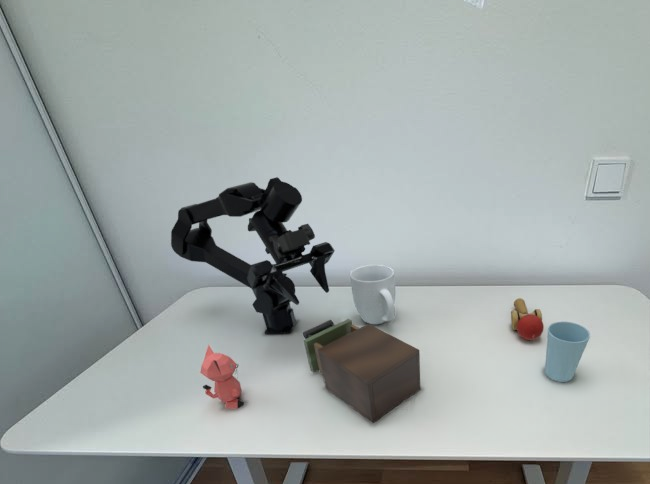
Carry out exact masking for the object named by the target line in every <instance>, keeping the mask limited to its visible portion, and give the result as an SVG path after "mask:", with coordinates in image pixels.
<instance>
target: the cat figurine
mask: <svg viewBox="0 0 650 484" xmlns="http://www.w3.org/2000/svg"><path fill="white" fill-rule="evenodd" d="M238 367H239V363H237V362H235V360H234V359H233V358H232V357H230V356H228V355H227V354H224V353H221V352H216V353H215V352H214V351H213V350H212V348H211V346H210V344H207V348H206V351H205V355H204V358H203V361H202V364H201V367H200V372H199V373H200V374H202V376H204V377H205V378H207V379H209V380H210V381H211V382H214V392H212V391H211V390H212V389H213V387H212V386H210V385H208V384H205V385H203V386H202V388H203V389H204V393H205V395H207V396H208V397H210V398H212V399H218V400H220V401H221V402H222V403H224V404H225V406H224V409H228V410H234V409H235V410H236V409H240V408H241V407H242V406H244V401H242V400H240V399H238V398H239V397H241V395H242V386H241V381H239V380H238V378H236V377H235V375H236V374H239V373H238V372H239V371H238Z"/></svg>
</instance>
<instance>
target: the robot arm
mask: <svg viewBox="0 0 650 484" xmlns="http://www.w3.org/2000/svg"><path fill="white" fill-rule="evenodd" d="M302 201H303V196H302V194H301V192H300V191H299V189H298V188H297V187H294V185H292V184H290V183H288V182H286V181H282V180H281V179H280V178H279V176H276V177H272V178H270V179H269V181H268V182H267V186H266V188H261V187H259V186H258V185H257V184H256V183H255V182H253V181H251V182H246V183H243V184H238V185H234V186H230V187H227V188H226V189H224V190H223V191H221V192H220V193H218V196H217V197H216V198H213V199H209V200H206V201H203V202H200V203H193V204H189V205H186V206H183V207H181V208H180V209H178V213H177V220H176V221H175V223H174V225H173V227H172V228H171V231H170V232H171V233H170V246H171V249H172V251H173V252H174V253H175V254H176V255H178V256H179V257H180V258H182V259H185V260H187V261H190V262H195V263H205V264H207V265H209V266H211V267H213V268H215V269H216V270H218V271H220V272H222V273H223V274H225V275H227V276H228V277H230V278H232V279H233V280H236V281H237V282H239V283H240V284H243V285H245V286H246V287H248V288H250V289H251V290H252V292H253V294H254V297H255V300H254V301H253V302H252V307H253V309H254V311H255V312H256V313H258V314H262V318H263V321H264V324H265V328H266V329H264V334H265V335H270V334H271V335H277V334H279V335H280V334H290V333H292V331H293V329H294V327H295V325H296V324H297V319H296V315H295V311H294V309H293V308H291V302H292V303H293V304H295V305H297V306H298V305H299V304H300V301H299V299H298V296H297V295H296V285H295V283H294V280H292V279H291V278H290V277H289V276H288V274H287V273H284V272H286V271H289V270H293V269H295V268H298V267H301V266H303V265H307V264H309V265H310V267H311V268H310V270H309V272H310V274H311V275H312V277H313V278H314V279H315V280H316V282H317V283H318V285H319V286H320V287H321V289H322V290H323V291H324V292H325V293H326V294H327V293H329V291H330V287H329V283H328V278H327V274H326V267H325V266H326V264H327V263H329V261H330V259H331V258H332V256H333V255H334V253H335V252H336V251H335V249H334V247H333V246H332V244H331V243H330V242H327V241H325V242H321V243H317V244H315V245H312V247H311V249H310V252H309V253H305V254H303V253H304V252H305V251H306V247H305V246H309V245H311V241H312V240H313V239H315V238H316V235H315V232H314V230H313V228H312V227H311V226H310V224H309V223H305V224H301V225H300V226H298V227H297V230H292V229H287V227H286V225H284V223H288V222H289V221H290V219H291V218H292V217H293V216H294V214H295V212H296V211H297V209H298V208H299V207H300V205H301V204H302ZM253 213H254V214H253ZM250 214H253V215H252V217H249V218H248V224H247V231H248V232H256V234H257V235H258V237H259V239H261V242H262V243H263V245H264V247H265V249H264V252H265V253H266V254H267V255H270V256H271V258H272V259H273V262H275V263H272V261H270V260H268V259H265V260H263V261H259V262H256V263H253V264H251V263H248V262H247V261H245V260H243V259H241V258H239V257H238V256H236V255H234V254H233V253H231V252H229V251H227V250H225V249H224V248H221V247H220V246H218V245H217V243H216V241H215V239H214V237H213V236H212V232H213V230H212V228H211V226H210V225H209V223H208V220H210V219H214V218H217V217H221V216H228V217H230V218H231V217H233V218H234V217H235V218H241V217H244V216H247V215H250ZM196 224H198V227H195V228H192V227H193V226H192V225H196Z"/></svg>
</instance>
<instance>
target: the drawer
mask: <svg viewBox="0 0 650 484" xmlns="http://www.w3.org/2000/svg"><path fill="white" fill-rule="evenodd" d="M359 328H360V327H359V326H357V325H355V324H353V320H352V319H350V318H346V319H345V320H343V321H341V322H338V323H336V324H335V323H334V321H333V320H332V319H329V320H326V321H325V322H322V323H320V324H318V325H316V326H313V327H311V328H309V329H307V330H305V331H303V332H302V337H303V345H304V349H305V353H306V357H307V362H308V364H309V371H310V372H312V373H316V372H318V371H319V374H321V375H322V376H323V372H322V367H321V362H320V357H319V352H318V349H319V348H321V347H323V346H325V345H327V344H329V343H331V342H333V341H335V340H337V339H339V338H341V337H343V336H345V335H347V334H349V333H351V332H353V331H355V330H357V329H359Z"/></svg>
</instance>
